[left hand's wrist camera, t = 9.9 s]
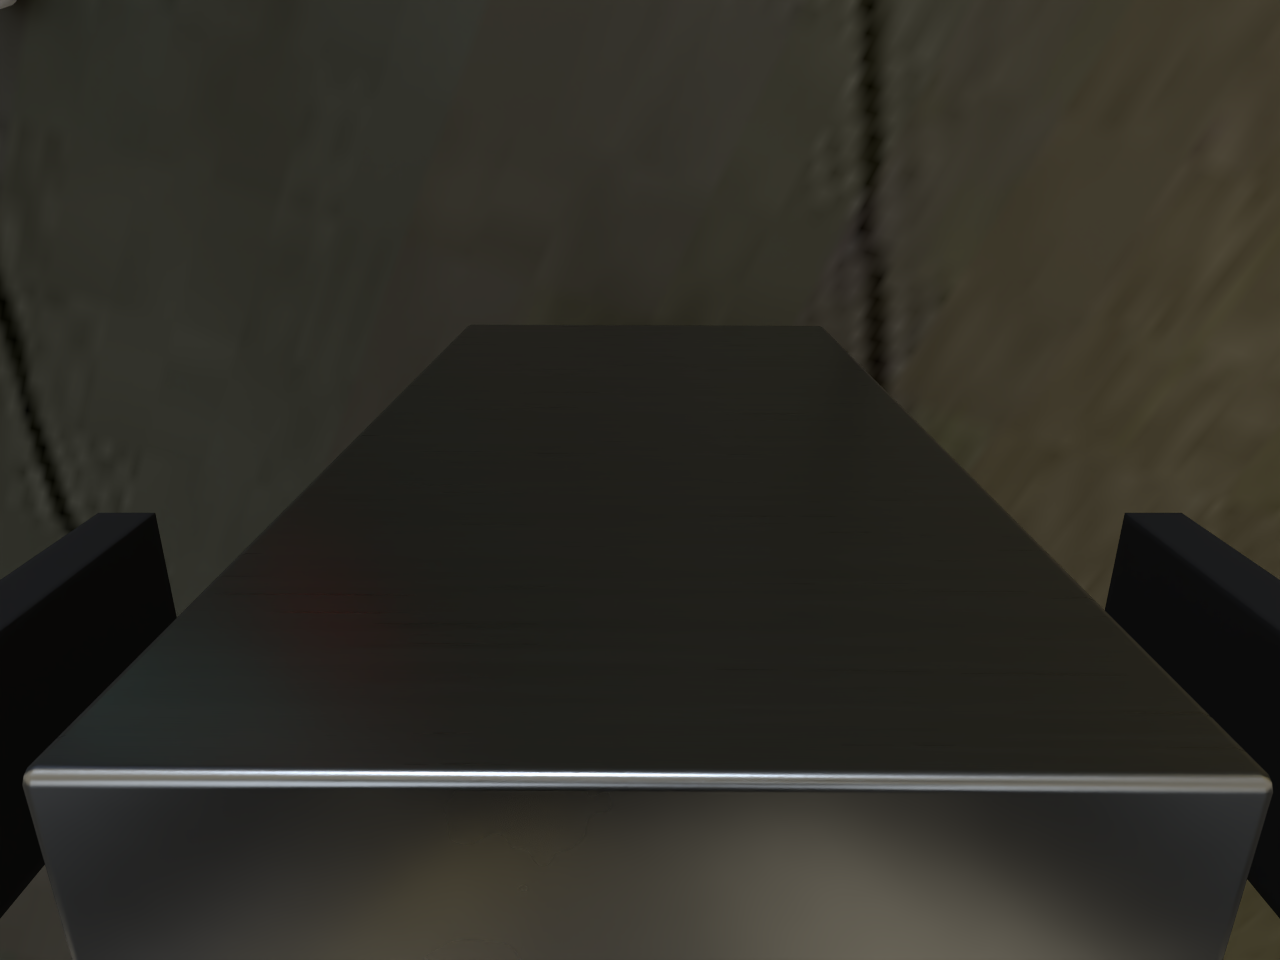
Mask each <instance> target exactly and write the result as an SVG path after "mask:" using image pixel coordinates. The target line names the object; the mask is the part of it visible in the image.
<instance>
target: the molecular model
mask: <svg viewBox="0 0 1280 960" xmlns="http://www.w3.org/2000/svg"><path fill="white" fill-rule="evenodd" d="M16 1H17V0H0V9H2V8H5V7H8V6H11V5H13V4H14V3H15V2H16Z"/></svg>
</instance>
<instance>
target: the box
mask: <svg viewBox="0 0 1280 960" xmlns="http://www.w3.org/2000/svg"><path fill="white" fill-rule="evenodd" d="M23 789H24V792H25V796H26V799H27V803H28V806H29V810H30V813H31V817H32V820H33V824H34V827H35V831H36V834H37V838H38V841H39V845H40V848H41V852H42V855H43V859H44V862H45V866H46V869H47V873H48V876H49V880H50V883H51V887H52V890H53V894H54V897H55V901H56V904H57V908H58V911H59V915H60V918H61V922H62V925H63V929H64V932H65V936H66V939H67V943H68V946H69V950H70V953H71V957H72V960H1223V957H1224V954H1225V951H1226V947H1227V944H1228V941H1229V937H1230V934H1231V931H1232V927H1233V924H1234V921H1235V917H1236V914H1237V911H1238V907H1239V904H1240V901H1241V897H1242V894H1243V891H1244V887H1245V884H1246V881H1247V877H1248V874H1249V871H1250V867H1251V864H1252V861H1253V857H1254V854H1255V851H1256V847H1257V844H1258V841H1259V837H1260V834H1261V831H1262V827H1263V824H1264V821H1265V817H1266V814H1267V811H1268V807H1269V804H1270V801H1271V797H1272V794H1273V787H1272V782H1271V779H1270V777H1269V775H1268V774H1267V773H1266V772H1265V771H1264V770H1263V769H1262V768H1261V767H1260V766H1259V765H1258V764H1257V763H1256V762H1255V761H1254V760H1253V759H1252V758H1251V757H1250V756H1249V755H1248V754H1247V753H1246V752H1245V751H1244V750H1243V749H1242V748H1241V747H1240V746H1239V745H1238V744H1237V743H1236V742H1235V741H1234V740H1233V739H1232V738H1231V737H1230V736H1229V735H1228V734H1227V733H1226V731H1225V730H1224V729H1223V728H1222V727H1221V726H1220V725H1219V724H1218V723H1217V722H1216V721H1215V720H1214V719H1213V718H1212V717H1211V716H1210V715H1209V714H1208V713H1207V712H1206V711H1205V710H1204V709H1203V708H1202V707H1201V706H1200V705H1199V704H1198V703H1197V702H1196V701H1195V700H1194V699H1193V698H1192V697H1191V696H1190V695H1189V694H1188V693H1187V692H1186V691H1185V690H1184V689H1183V688H1182V687H1181V686H1180V685H1179V684H1178V683H1177V682H1176V681H1175V680H1174V679H1173V678H1172V677H1171V676H1170V675H1169V674H1168V673H1167V672H1166V671H1165V670H1164V669H1163V668H1162V667H1161V666H1160V665H1159V664H1158V663H1157V662H1156V661H1155V660H1154V659H1153V658H1152V657H1151V656H1150V655H1149V654H1148V653H1147V652H1146V651H1145V650H1144V649H1143V648H1142V647H1141V646H1140V645H1139V644H1138V643H1137V642H1136V641H1135V640H1134V639H1133V638H1132V637H1131V636H1130V635H1129V634H1128V633H1127V632H1126V631H1125V630H1124V629H1123V628H1122V627H1121V626H1120V625H1119V624H1118V623H1117V622H1116V621H1115V620H1114V619H1113V618H1112V617H1111V616H1110V615H1109V614H1108V613H1107V612H1106V611H1105V610H1104V609H1103V608H1102V607H1101V606H1100V605H1099V604H1098V603H1097V602H1096V601H1095V600H1094V599H1093V598H1092V597H1091V596H1090V595H1089V594H1088V593H1087V592H1086V591H1085V590H1084V589H1083V588H1082V587H1081V586H1080V585H1079V584H1078V583H1077V582H1076V581H1075V580H1074V579H1073V578H1072V577H1071V576H1070V575H1069V574H1068V573H1067V572H1066V571H1065V570H1064V569H1063V568H1062V567H1061V566H1060V565H1059V564H1058V563H1057V562H1056V561H1055V560H1054V559H1053V558H1052V557H1051V556H1050V555H1049V554H1048V553H1047V552H1046V551H1045V550H1044V549H1043V548H1042V547H1041V546H1040V545H1039V544H1038V543H1037V542H1036V541H1035V540H1034V539H1033V538H1032V537H1031V536H1030V535H1029V534H1028V533H1027V532H1026V531H1025V530H1024V529H1023V528H1022V527H1021V526H1020V525H1019V524H1018V523H1017V522H1016V521H1015V520H1014V519H1013V518H1012V517H1011V516H1010V515H1009V514H1008V513H1007V512H1006V511H1005V510H1004V509H1003V508H1002V507H1001V506H1000V505H999V504H998V503H997V502H996V501H995V500H994V499H993V498H992V497H991V496H990V495H989V494H988V493H987V492H986V491H985V490H984V489H983V488H982V487H981V486H980V485H979V484H978V483H977V482H976V481H975V480H974V479H973V478H972V477H971V476H970V475H969V474H968V473H967V472H966V471H965V470H964V469H963V468H962V467H961V466H960V465H959V464H958V463H957V462H956V461H955V460H954V459H953V458H952V457H951V456H950V455H949V454H948V453H947V452H946V451H945V450H944V449H943V448H942V447H941V446H940V445H939V444H938V443H937V442H936V441H935V440H934V439H933V438H932V437H931V436H930V435H929V434H928V433H927V432H926V431H925V430H924V429H923V428H922V427H921V426H920V425H919V424H918V423H917V422H916V421H915V420H914V419H913V418H912V417H911V416H910V415H909V414H908V413H907V412H906V411H905V410H904V409H903V408H902V407H901V406H900V405H899V404H898V403H897V402H896V401H895V400H894V399H893V398H892V397H891V396H890V395H889V394H888V393H887V392H886V391H885V390H884V389H883V388H882V387H881V386H880V385H879V384H878V383H877V382H876V381H875V380H874V379H873V378H872V377H871V376H870V375H869V374H868V373H867V372H866V371H865V370H864V369H863V368H862V367H861V366H860V365H859V364H858V363H857V362H856V361H855V360H854V359H853V358H852V357H851V356H850V355H849V354H848V353H847V352H846V351H845V350H844V349H843V348H842V347H841V346H840V345H839V344H838V343H837V342H836V341H835V340H834V339H833V338H832V337H831V336H830V335H829V334H828V333H827V332H826V331H825V330H824V329H823V328H822V327H820V326H641V325H470V326H468V327H467V328H466V329H465V330H464V331H463V332H462V333H461V334H460V335H459V336H458V337H457V338H456V339H455V340H454V341H453V342H452V343H451V344H450V345H449V346H448V347H447V348H446V349H445V350H444V351H443V352H442V353H441V354H440V355H439V356H438V357H437V358H436V359H435V360H434V361H433V362H432V363H431V364H430V365H429V366H428V367H427V368H426V369H425V370H424V371H423V372H422V373H421V374H420V375H419V376H418V377H417V378H416V379H415V380H414V381H413V382H412V383H411V384H410V385H409V386H408V387H407V388H406V389H405V390H404V391H403V392H402V393H401V394H400V395H399V396H398V397H397V398H396V399H395V400H394V401H393V402H392V403H391V404H390V405H389V406H388V407H387V408H386V409H385V410H384V411H383V412H382V413H381V414H380V415H379V416H378V417H377V418H376V419H375V420H374V421H373V422H372V423H371V424H370V425H369V426H368V427H367V428H366V429H365V430H364V431H363V432H362V433H361V434H360V435H359V436H358V437H357V438H356V439H355V440H354V441H353V442H352V443H351V444H350V445H349V446H348V447H347V448H346V449H345V450H344V451H343V452H342V453H341V454H340V455H339V456H338V457H337V458H336V459H335V460H334V461H333V462H332V463H331V464H330V465H329V466H328V467H327V468H326V469H325V470H324V471H323V472H322V473H321V474H320V475H319V476H318V477H317V478H316V479H315V480H314V481H313V482H312V483H311V484H310V485H309V486H308V487H307V488H306V489H305V490H304V491H303V492H302V493H301V494H300V495H299V496H298V497H297V498H296V499H295V500H294V501H293V502H292V503H291V504H290V505H289V506H288V507H287V508H286V509H285V510H284V511H283V512H282V513H281V514H280V515H279V516H278V517H277V518H276V519H275V520H274V521H273V522H272V523H271V524H270V525H269V526H268V527H267V528H266V529H265V530H264V531H263V532H262V533H261V534H260V535H259V536H258V537H257V538H256V539H255V540H254V541H253V542H252V543H251V544H250V545H249V546H248V547H247V548H246V549H245V550H244V551H243V552H242V553H241V554H240V555H239V556H238V557H237V558H236V559H235V560H234V561H233V562H232V563H231V564H230V565H229V566H228V567H227V568H226V569H225V570H224V571H223V572H222V573H221V574H220V575H219V576H218V577H217V578H216V579H215V580H214V581H213V582H212V583H211V584H210V585H209V586H208V587H207V588H206V589H205V590H204V591H203V592H202V593H201V594H200V595H199V596H198V597H197V598H196V599H195V600H194V601H193V602H192V603H191V604H190V605H189V606H188V607H187V608H186V609H185V610H184V611H183V612H182V613H181V614H180V615H179V616H178V617H177V618H176V619H175V620H174V621H173V622H172V623H171V624H170V625H169V626H168V627H167V628H166V629H165V630H164V631H163V632H162V633H161V634H160V635H159V636H158V637H157V638H156V639H155V640H154V641H153V642H152V643H151V644H150V645H149V646H148V647H147V648H146V649H145V650H144V651H143V652H142V653H141V654H140V655H139V656H138V657H137V658H136V659H135V660H134V661H133V662H132V663H131V664H130V665H129V666H128V667H127V668H126V669H125V670H124V671H123V672H122V673H121V674H120V675H119V676H118V677H117V678H116V679H115V680H114V681H113V682H112V683H111V684H110V685H109V686H108V687H107V688H106V689H105V690H104V691H103V692H102V693H101V694H100V695H99V696H98V697H97V698H96V699H95V700H94V701H93V702H92V703H91V704H90V705H89V706H88V707H87V708H86V709H85V710H84V711H83V712H82V713H81V714H80V715H79V716H78V717H77V718H76V719H75V720H74V721H73V722H72V723H71V724H70V725H69V726H68V727H67V728H66V729H65V730H64V731H63V732H62V733H61V734H60V736H59V737H58V738H57V739H56V740H55V741H54V742H53V743H52V744H51V745H50V746H49V747H48V748H47V749H46V750H45V751H44V752H43V753H42V754H41V755H40V756H39V757H38V758H37V759H36V760H35V761H34V762H33V763H32V764H31V765H30V766H29V767H28V768H27V770H26V772H25V774H24V778H23Z"/></svg>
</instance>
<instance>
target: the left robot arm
mask: <svg viewBox="0 0 1280 960" xmlns="http://www.w3.org/2000/svg"><path fill="white" fill-rule="evenodd" d="M1105 611H1106V612H1107V613H1108V614H1109V615H1110V616H1111V617H1112V618H1113V619H1114V620H1115V621H1116V622H1117V623H1118V624H1119V625H1120V626H1121V627H1122V628H1123V629H1124V630H1125V631H1126V632H1127V633H1128V634H1129V635H1130V636H1131V637H1132V638H1133V639H1134V640H1135V641H1136V642H1137V643H1138V644H1139V645H1140V646H1141V647H1142V648H1143V649H1144V650H1145V651H1146V652H1147V653H1148V654H1149V655H1150V656H1151V657H1152V658H1153V659H1154V660H1155V661H1156V662H1157V663H1158V664H1159V665H1160V666H1161V667H1162V668H1163V669H1164V670H1165V671H1166V672H1167V673H1168V674H1169V675H1170V676H1171V677H1172V678H1173V679H1174V680H1175V681H1176V682H1177V683H1178V684H1179V685H1180V686H1181V687H1182V688H1183V689H1184V690H1185V691H1186V692H1187V693H1188V694H1189V695H1190V696H1191V697H1192V698H1193V699H1194V700H1195V701H1196V702H1197V703H1198V704H1199V705H1200V706H1201V707H1202V708H1203V709H1204V710H1205V711H1206V712H1207V713H1208V714H1209V715H1210V716H1211V717H1212V718H1213V719H1214V720H1215V721H1216V722H1217V723H1218V724H1219V725H1220V726H1221V727H1222V728H1223V729H1224V730H1225V731H1226V733H1227V734H1228V735H1229V736H1230V737H1231V738H1232V739H1233V740H1234V741H1235V742H1236V743H1237V744H1238V745H1239V746H1240V747H1241V748H1242V749H1243V750H1244V751H1245V752H1246V753H1247V754H1248V755H1249V756H1250V757H1251V758H1252V759H1253V760H1254V761H1255V762H1256V763H1257V764H1258V765H1259V766H1260V767H1261V768H1262V769H1263V770H1264V771H1265V772H1266V773H1267V774H1268V775H1269V777H1270V779H1271V782H1272V787H1273V794H1272V797H1271V801H1270V804H1269V807H1268V811H1267V814H1266V817H1265V821H1264V824H1263V827H1262V831H1261V834H1260V837H1259V841H1258V844H1257V847H1256V851H1255V854H1254V857H1253V861H1252V864H1251V867H1250V871H1249V874H1248V877H1247V879H1248V881H1249V882H1250V883H1251V884H1252V885H1253V887H1254V888H1255V889H1256V890H1257V891H1258V893H1259V894H1260V895H1261V896H1262V897H1263V899H1264V900H1265V901H1266V902H1267V904H1268V905H1269V906H1270V907H1271V908H1272V910H1273V911H1274V912H1275V913H1276V914H1277V916H1278V917H1279V918H1280V580H1279V579H1277V578H1276V577H1274V576H1273V575H1272V574H1270V573H1269V572H1267V571H1266V570H1264V569H1263V568H1261V567H1260V566H1258V565H1257V564H1255V563H1254V562H1253V561H1251V560H1250V559H1248V558H1247V557H1245V556H1244V555H1242V554H1241V553H1239V552H1238V551H1236V550H1235V549H1233V548H1232V547H1231V546H1229V545H1228V544H1226V543H1225V542H1223V541H1222V540H1220V539H1219V538H1217V537H1216V536H1214V535H1213V534H1212V533H1210V532H1209V531H1207V530H1206V529H1204V528H1203V527H1201V526H1200V525H1198V524H1197V523H1195V522H1194V521H1193V520H1191V519H1190V518H1188V517H1187V516H1185V515H1184V514H1182V513H1125V515H1124V520H1123V525H1122V529H1121V534H1120V539H1119V544H1118V549H1117V554H1116V559H1115V564H1114V568H1113V573H1112V578H1111V583H1110V588H1109V593H1108V598H1107V603H1106V607H1105ZM176 618H177V617H176V612H175V607H174V603H173V598H172V593H171V588H170V583H169V578H168V573H167V568H166V564H165V559H164V554H163V549H162V544H161V539H160V534H159V529H158V525H157V520H156V515H155V513H98V514H96V515H95V516H93V517H92V518H90V519H89V520H87V521H86V522H85V523H83V524H82V525H80V526H79V527H77V528H76V529H74V530H73V531H71V532H70V533H68V534H67V535H66V536H64V537H63V538H61V539H60V540H58V541H57V542H55V543H54V544H52V545H51V546H49V547H48V548H47V549H45V550H44V551H42V552H41V553H39V554H38V555H36V556H35V557H33V558H32V559H30V560H29V561H27V562H26V563H25V564H23V565H22V566H20V567H19V568H17V569H16V570H14V571H13V572H11V573H10V574H8V575H7V576H6V577H4V578H3V579H1V580H0V918H1V917H2V916H3V914H4V913H5V912H6V911H7V910H8V908H9V907H10V906H11V905H12V904H13V902H14V901H15V900H16V899H17V897H18V896H19V895H20V894H21V893H22V891H23V890H24V889H25V888H26V887H27V885H28V884H29V883H30V882H31V881H32V879H33V878H34V877H35V876H36V874H37V873H38V872H39V871H40V870H41V868H42V867H43V866H44V865H45V862H44V859H43V855H42V852H41V848H40V845H39V841H38V838H37V834H36V831H35V827H34V824H33V820H32V817H31V813H30V810H29V806H28V803H27V799H26V796H25V792H24V789H23V778H24V774H25V772H26V770H27V768H28V767H29V766H30V765H31V764H32V763H33V762H34V761H35V760H36V759H37V758H38V757H39V756H40V755H41V754H42V753H43V752H44V751H45V750H46V749H47V748H48V747H49V746H50V745H51V744H52V743H53V742H54V741H55V740H56V739H57V738H58V737H59V736H60V734H61V733H62V732H63V731H64V730H65V729H66V728H67V727H68V726H69V725H70V724H71V723H72V722H73V721H74V720H75V719H76V718H77V717H78V716H79V715H80V714H81V713H82V712H83V711H84V710H85V709H86V708H87V707H88V706H89V705H90V704H91V703H92V702H93V701H94V700H95V699H96V698H97V697H98V696H99V695H100V694H101V693H102V692H103V691H104V690H105V689H106V688H107V687H108V686H109V685H110V684H111V683H112V682H113V681H114V680H115V679H116V678H117V677H118V676H119V675H120V674H121V673H122V672H123V671H124V670H125V669H126V668H127V667H128V666H129V665H130V664H131V663H132V662H133V661H134V660H135V659H136V658H137V657H138V656H139V655H140V654H141V653H142V652H143V651H144V650H145V649H146V648H147V647H148V646H149V645H150V644H151V643H152V642H153V641H154V640H155V639H156V638H157V637H158V636H159V635H160V634H161V633H162V632H163V631H164V630H165V629H166V628H167V627H168V626H169V625H170V624H171V623H172V622H173V621H174V620H175V619H176Z"/></svg>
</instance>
